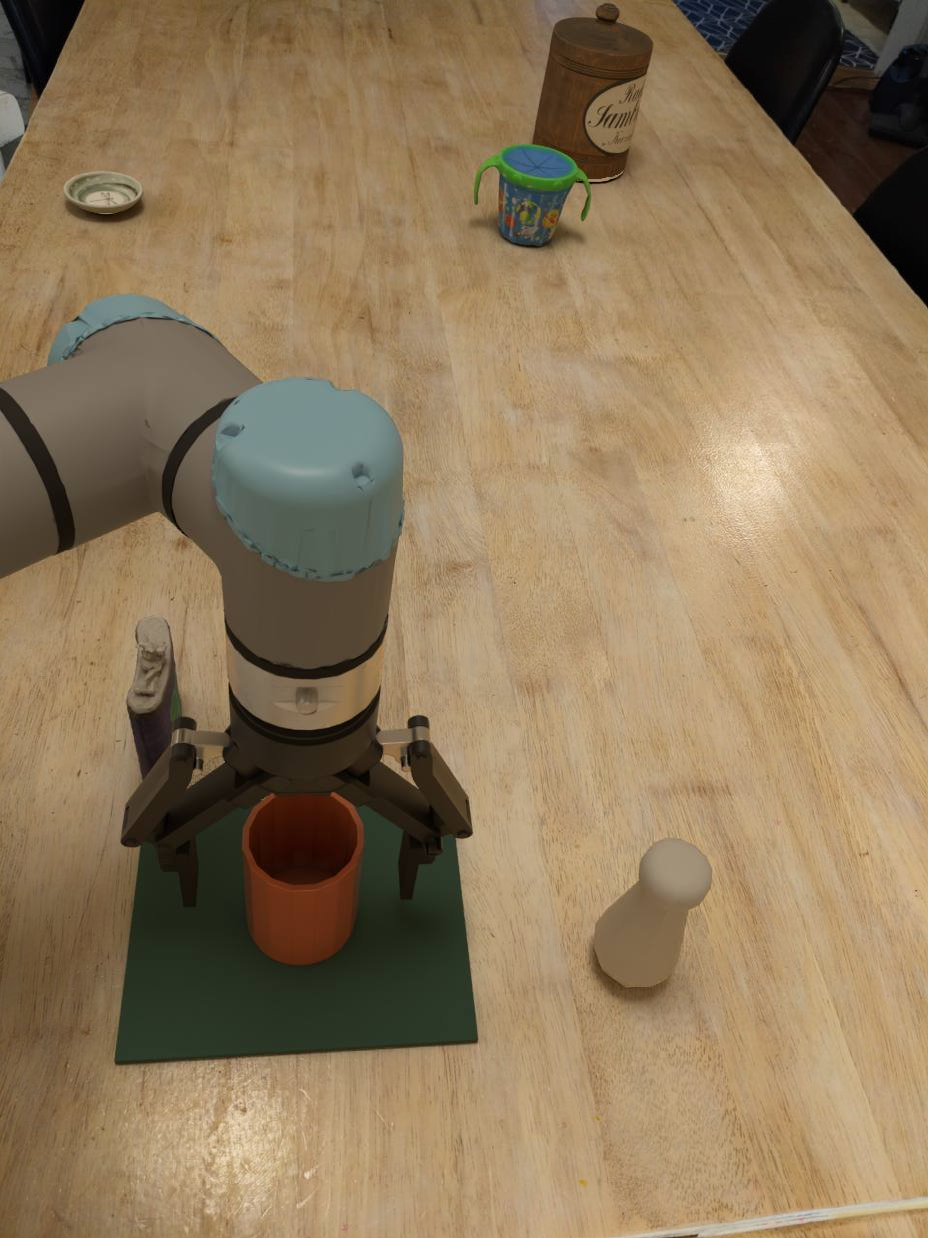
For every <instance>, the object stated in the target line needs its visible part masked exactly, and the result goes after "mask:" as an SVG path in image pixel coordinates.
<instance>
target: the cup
mask: <svg viewBox="0 0 928 1238" xmlns="http://www.w3.org/2000/svg"><path fill="white" fill-rule="evenodd" d="M363 852H364V827H363V823H362V821H361V819H360V817H359V815H358V813H357V811H356V810H355V808H354V806H353V805H352V804H351V803H349V802H348V801H347V800H346V799H344V798H343V797H341V796H339V795H338V794H336V793H335V792H332V793H331V796H312V795H304V794H302V795H295V796H289V797H274V793H271V794H270V795H268V796H267V797H265V798H264V799H262V801H261V802H260V803H259V804H257V805H256V806H255V807H254V808H253V809H252V811H251V813H250V815H249V817H248V819H247V821H246V823H245V824H244V826H243V835H242V857H243V872H244V887H245V902H246V918H247V924H248V927H249V931H250V934H251V936H252V938H253V940H254V942H255V943H256V945H257V946H258V947H259V948H260V949H261V950H262V952H264V953H265V954H266V955H268V956H269V957H271V958H272V959H274V960H277V961H279V962H282V963H285V964H290V965H309V964H314V963H317V962H320V961H323V960H325V959H327V958H329V957H331V956H332V955H334V954H335V953H336V952H337V951H339V950H340V949H341V948H342V947H343V946H344V944H345V943H346V942H347V940H348V939H349V937H350V935H351V933H352V931H353V929H354V925H355V921H356V919H357V911H358V901H359V891H360V882H361V872H362V862H363Z"/></svg>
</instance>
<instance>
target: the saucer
mask: <svg viewBox="0 0 928 1238" xmlns="http://www.w3.org/2000/svg"><path fill="white" fill-rule="evenodd" d="M62 193H63V195H64V197H65V198H66V199H67V201H69V202H70V203H72V204H73V205H75V206H76V207H78V208H80V209H82V210H84V211H86V212H90V213H92V212H95V213H116V212H120V211H122V212H124V211H127V210H128V209H131V208H132V207H133V206H135V205H136V203H138V202H139V201H140V200H141V199H142V198H143V195H144V186H143V185H142V184H141V182H140V181H139V180H137V179H136V178H134V177H133V176H130V175H127V174H124V173H121V172H117V171H106V170H96V171H88V172H83V173H80V174H76V175H74V176H73V177H71V178H69V179H68V180H67V181H66V182H65V183H64V184H63V187H62ZM95 213H94V214H95ZM120 213H121V212H120Z"/></svg>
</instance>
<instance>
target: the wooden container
mask: <svg viewBox="0 0 928 1238" xmlns="http://www.w3.org/2000/svg"><path fill="white" fill-rule="evenodd" d="M620 12H621V11H620V9H619V7H617V5H615V4H613V3H609V2H604V3H603V4H600V5H598V7H596V9H595V16H596V17H589V16H573V17H567V18H563V19H560V20H558V21H557V22H555V24H554V26H553V28H552V33H551V38H550V43H549V51H548V56H547V62H546V65H545V66H546V67H545V72H544V76H543V83H542V88H541V92H540V96H539V101H538V108H537V111H536V117H535V124H534V130H533V136H532V142H531V144H532V145H539V146H544V147H548V148H551V149H554V150H557V151H560V152H562V153H564V154H566V155H567V156H569V157H570V158H571V159H572V160H574V162H575V163H576V165H577V167H578V168H579V169H580V170H582V171H583V172H584V174H585V175H586V176H587V178H588V179H602V178H606V177H613V176H615V175H618V174H620V173H621V172H622V171H623V170H624V171H625V169H626V165H627V161H628V156H629V153H630V148H631V145H632V141H633V136H634V133H635V129H636V126H637V125H636V124H637V121H638V120H637V119H638V115H639V112H640V107H641V102H642V97H643V93H644V88H645V84H646V78H647V75H648V70H649V67H650V62H651V59H652V55H653V50H654V41H653V40H652V38H651V37H650V36H649V35H648V34H646V33H645V32H643V31H642V30H640V29H637V28H635V27H633V26H630V25H628V24H624V23H622V22H619V21H618V20H619V18H620V14H621V13H620ZM624 168H625V169H624Z"/></svg>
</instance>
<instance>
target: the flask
mask: <svg viewBox="0 0 928 1238" xmlns="http://www.w3.org/2000/svg"><path fill="white" fill-rule="evenodd" d="M134 632H135V635H134V637H135V640H136V644H135V648H136V649H137V653H136V664H135V673H134V676H133V680H132V684H131V686H130V688H129V690H128V692H127V696H126V699H125V703H126V710H127V713H128V719H129V723H130V728H131V731H132V736H133V743H134V747H135V752H136V755H137V760H138V764H139V769H140V775H141V777H140V779H141V781H143V780H144V778H145V777H146V776H147V774H148V773H149V772H150V770H151V769H152V768H153V766H154V765H155V764H156V762H157V761H158V760H159V758H160V757H161V756H162V754H163V753H164V752H165V750H166V749H167V748H168V746H169V745H170V744H171V742H172V733H173V723H174V721H175V720H176V719H177V718H179V717H183V710H182V701H181V697H180V691H179V684H178V676H177V670H176V661H175V652H174V643H173V637H172V633H171V626H170V625H169V622H168V621H167V619H165V618H163V617H160V616H156V615H150V616H147V617H144V618H142V619H140V620H138V621H137V623H136V626H135V629H134Z"/></svg>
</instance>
